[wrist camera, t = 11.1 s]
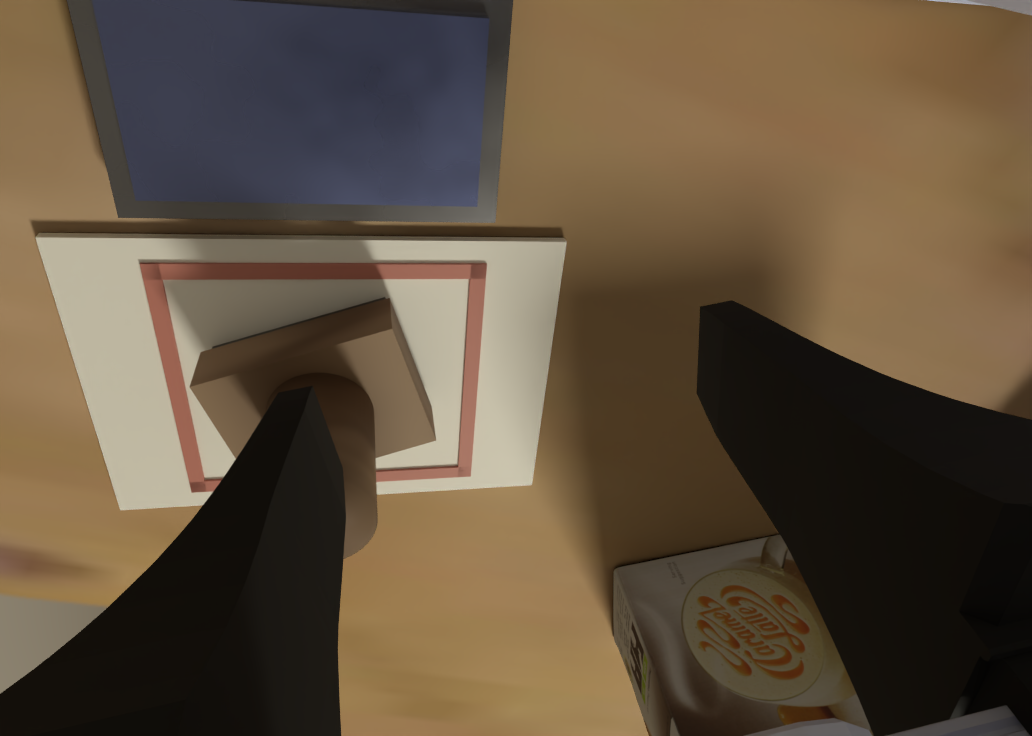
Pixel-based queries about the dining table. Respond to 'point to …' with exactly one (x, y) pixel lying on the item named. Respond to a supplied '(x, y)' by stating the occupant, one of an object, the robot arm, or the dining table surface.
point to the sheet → (293, 298)
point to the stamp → (327, 393)
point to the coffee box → (728, 643)
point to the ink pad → (299, 106)
